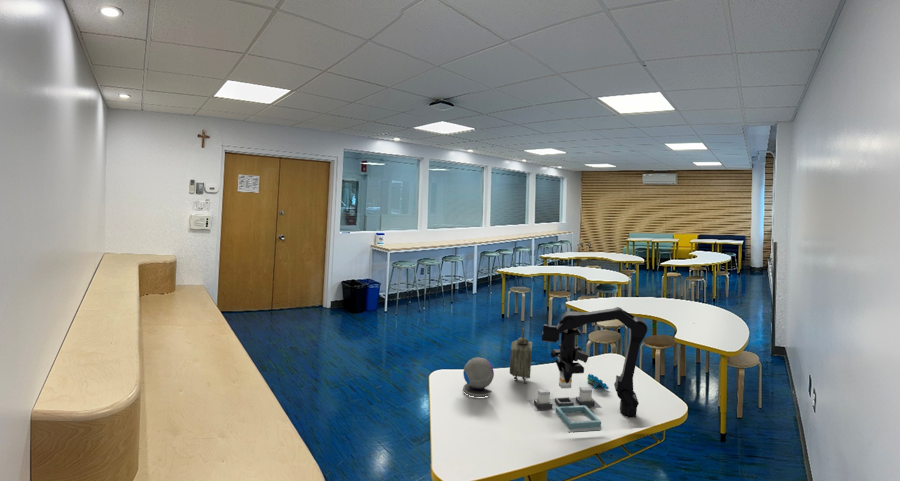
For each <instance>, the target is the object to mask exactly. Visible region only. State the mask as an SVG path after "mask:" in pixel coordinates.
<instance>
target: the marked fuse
mask: <svg viewBox="0 0 900 481" xmlns="http://www.w3.org/2000/svg"><path fill="white" fill-rule="evenodd" d="M558 378H559V379H558V380H559V381H558V386H559V387H560V388H561V389H572V382H573V381H572V380H573V375H572V376H571V378H570V381H569V383H566V382H565V379H564V375H563V371H559V377H558Z"/></svg>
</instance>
